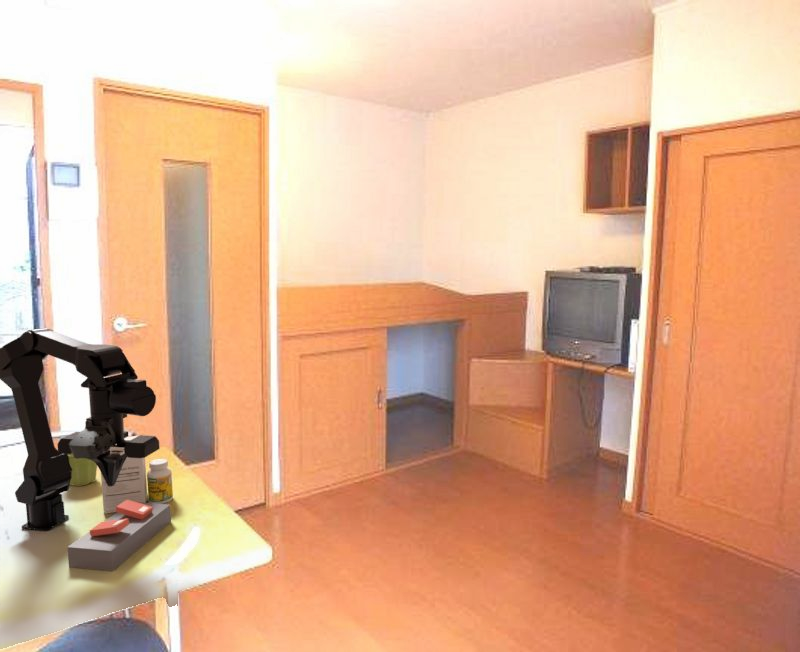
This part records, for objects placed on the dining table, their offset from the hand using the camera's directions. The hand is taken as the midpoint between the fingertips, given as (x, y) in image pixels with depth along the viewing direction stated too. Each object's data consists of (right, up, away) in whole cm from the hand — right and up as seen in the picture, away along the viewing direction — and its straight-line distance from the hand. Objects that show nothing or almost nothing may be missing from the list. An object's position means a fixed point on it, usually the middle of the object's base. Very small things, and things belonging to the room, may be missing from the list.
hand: (111, 485), depth 117 cm
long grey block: (+2, -12, +3) cm, 12 cm away
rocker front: (+1, -7, -3) cm, 8 cm away
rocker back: (+3, -6, +4) cm, 8 cm away
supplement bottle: (+1, -10, +21) cm, 24 cm away
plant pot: (-23, -8, +32) cm, 41 cm away
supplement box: (-6, -10, +20) cm, 23 cm away
